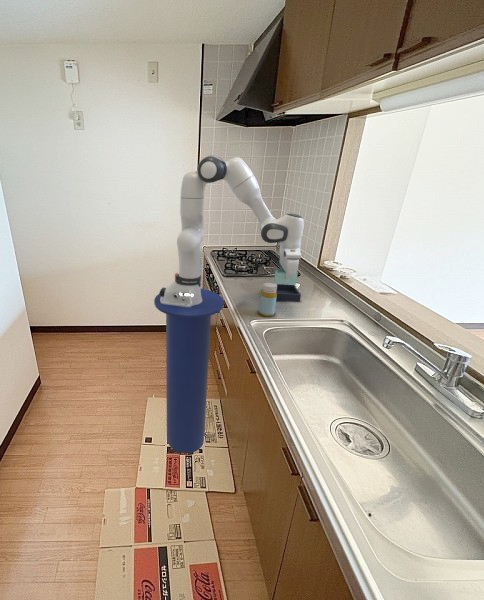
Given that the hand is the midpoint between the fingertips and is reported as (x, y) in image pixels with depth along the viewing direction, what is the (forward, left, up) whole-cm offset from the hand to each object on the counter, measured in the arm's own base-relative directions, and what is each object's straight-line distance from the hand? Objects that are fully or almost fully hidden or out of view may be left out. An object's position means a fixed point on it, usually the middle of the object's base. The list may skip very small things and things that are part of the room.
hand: (285, 278), depth 155 cm
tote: (+4, +17, -16) cm, 24 cm away
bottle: (-8, -7, -16) cm, 19 cm away
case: (0, 0, -2) cm, 2 cm away
